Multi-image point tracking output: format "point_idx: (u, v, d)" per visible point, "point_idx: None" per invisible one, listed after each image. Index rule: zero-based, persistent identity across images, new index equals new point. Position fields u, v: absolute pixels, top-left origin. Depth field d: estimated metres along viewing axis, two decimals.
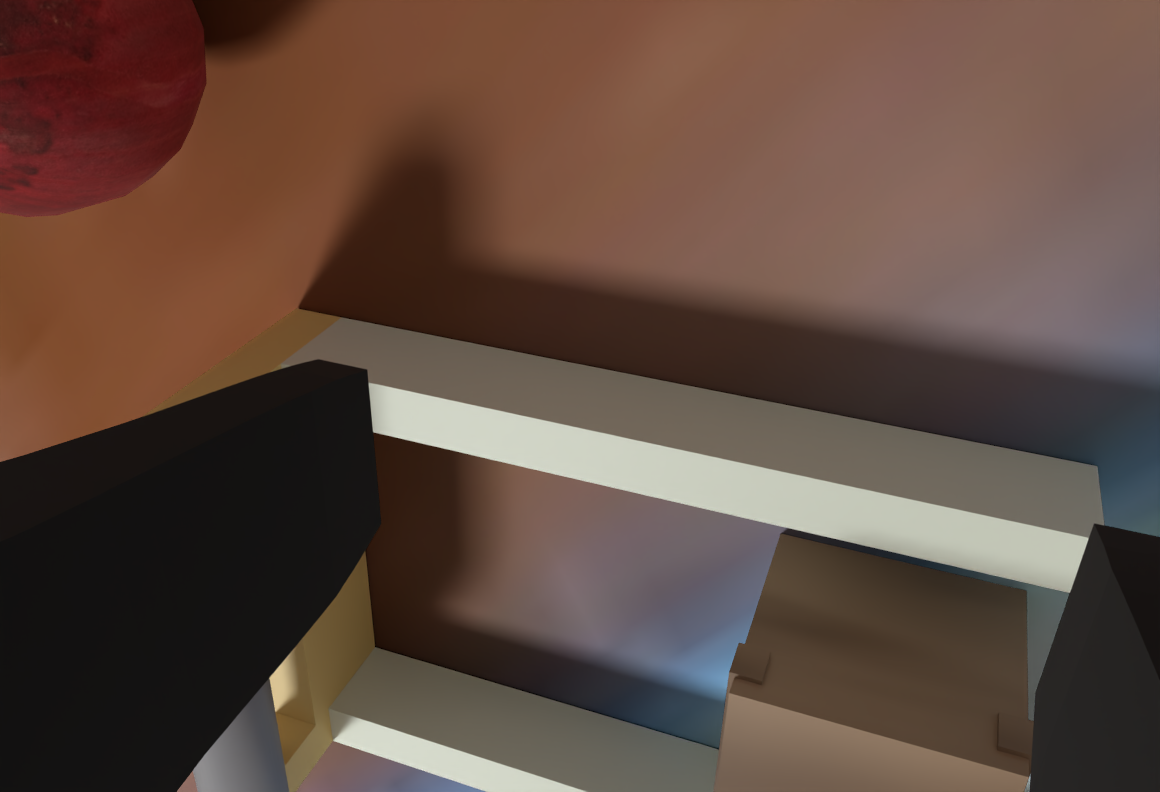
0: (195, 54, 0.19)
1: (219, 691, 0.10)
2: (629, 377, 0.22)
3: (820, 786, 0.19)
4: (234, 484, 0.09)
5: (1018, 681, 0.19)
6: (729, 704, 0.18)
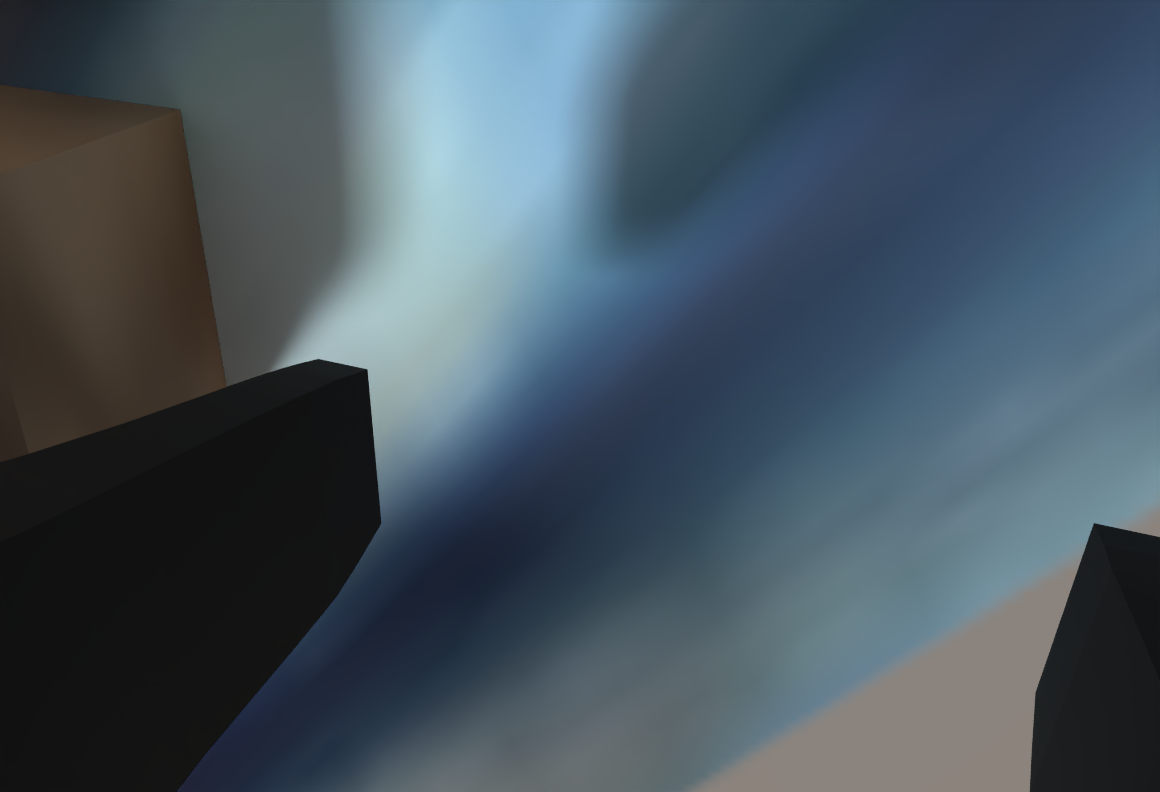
0: None
1: (219, 691, 0.10)
2: None
3: None
4: (234, 484, 0.09)
5: (10, 164, 0.12)
6: None
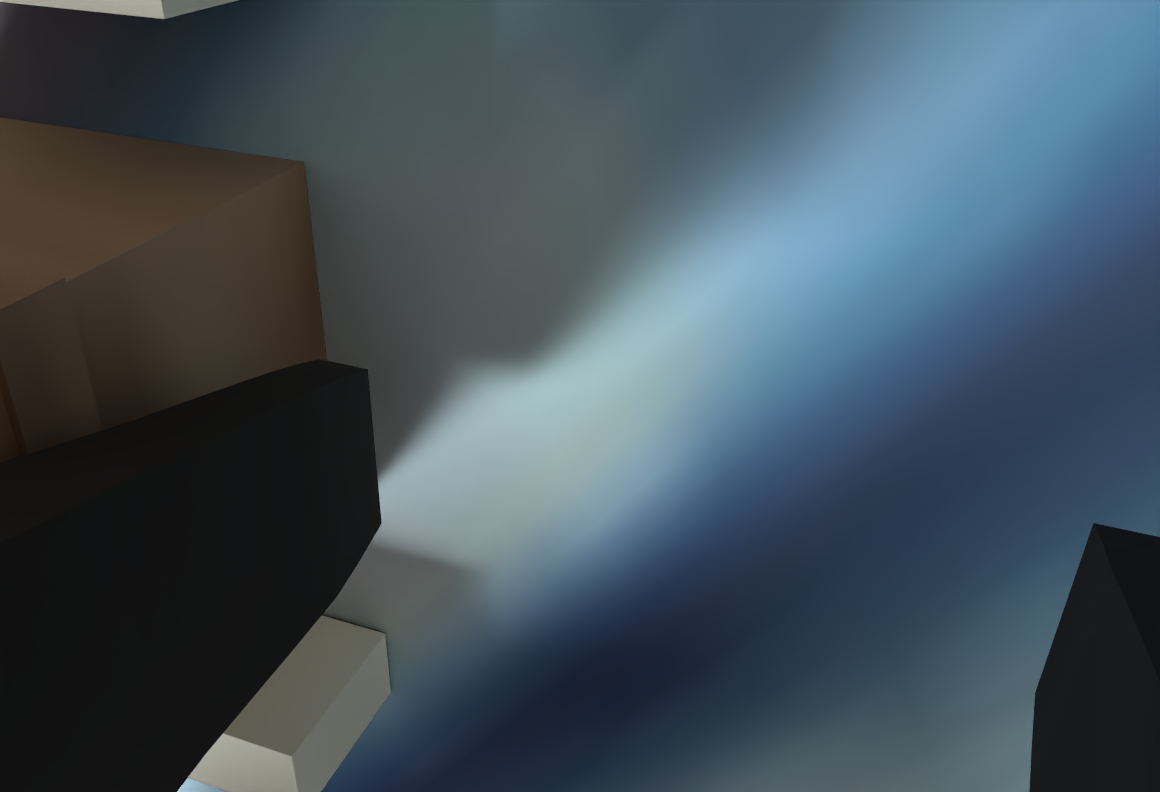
0: None
1: (219, 691, 0.10)
2: None
3: None
4: (234, 484, 0.09)
5: (125, 242, 0.10)
6: None
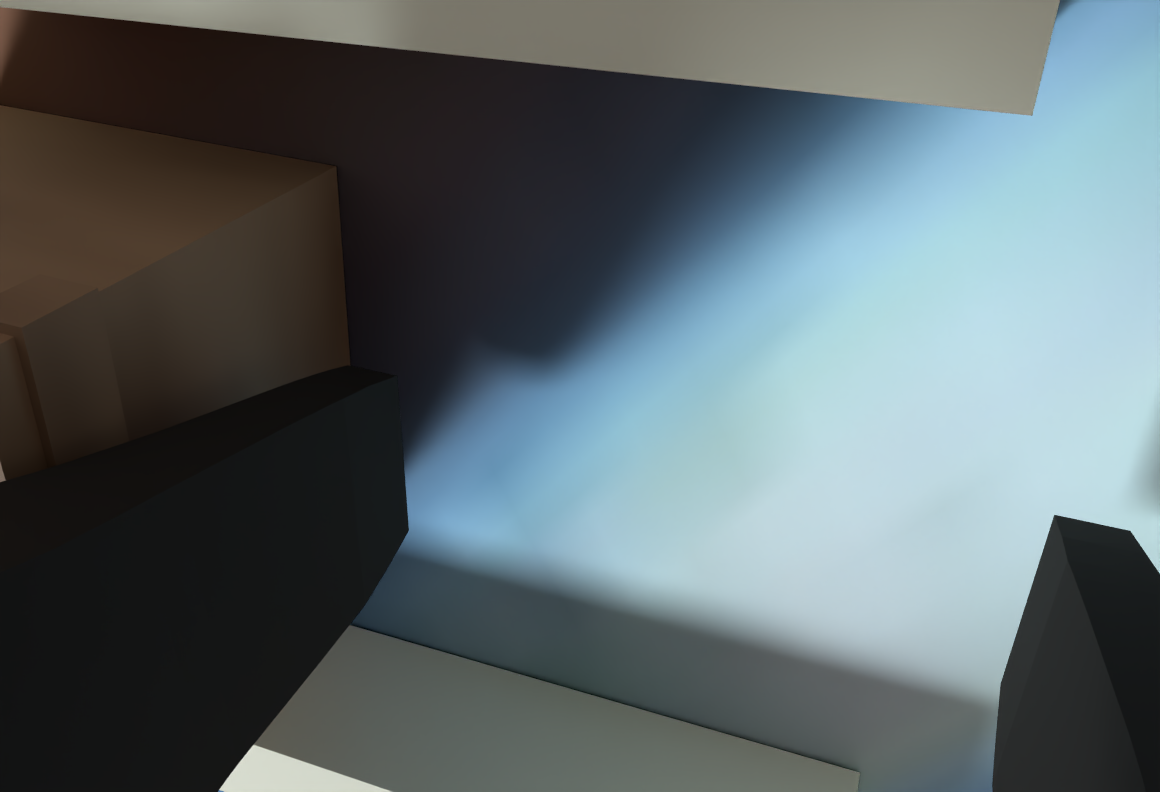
0: None
1: (251, 702, 0.10)
2: None
3: None
4: (268, 493, 0.09)
5: (156, 250, 0.09)
6: None
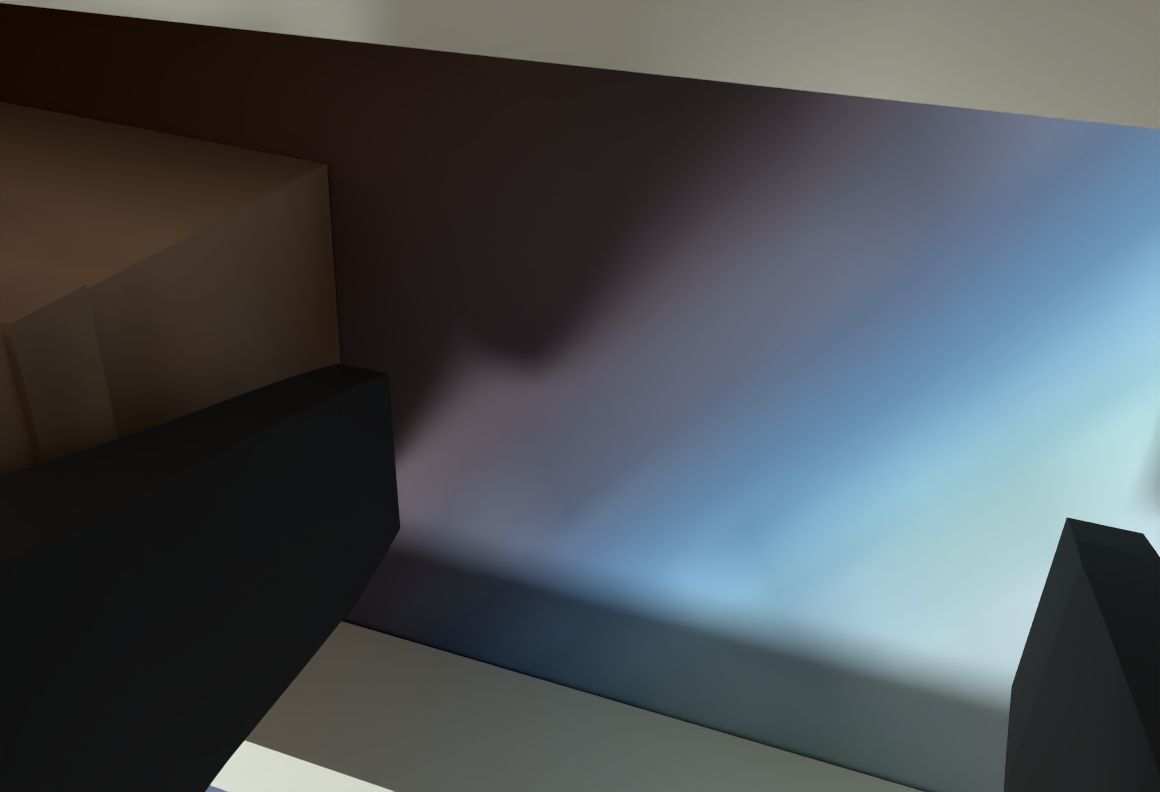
0: None
1: (241, 698, 0.10)
2: None
3: None
4: (257, 490, 0.09)
5: (145, 247, 0.09)
6: None
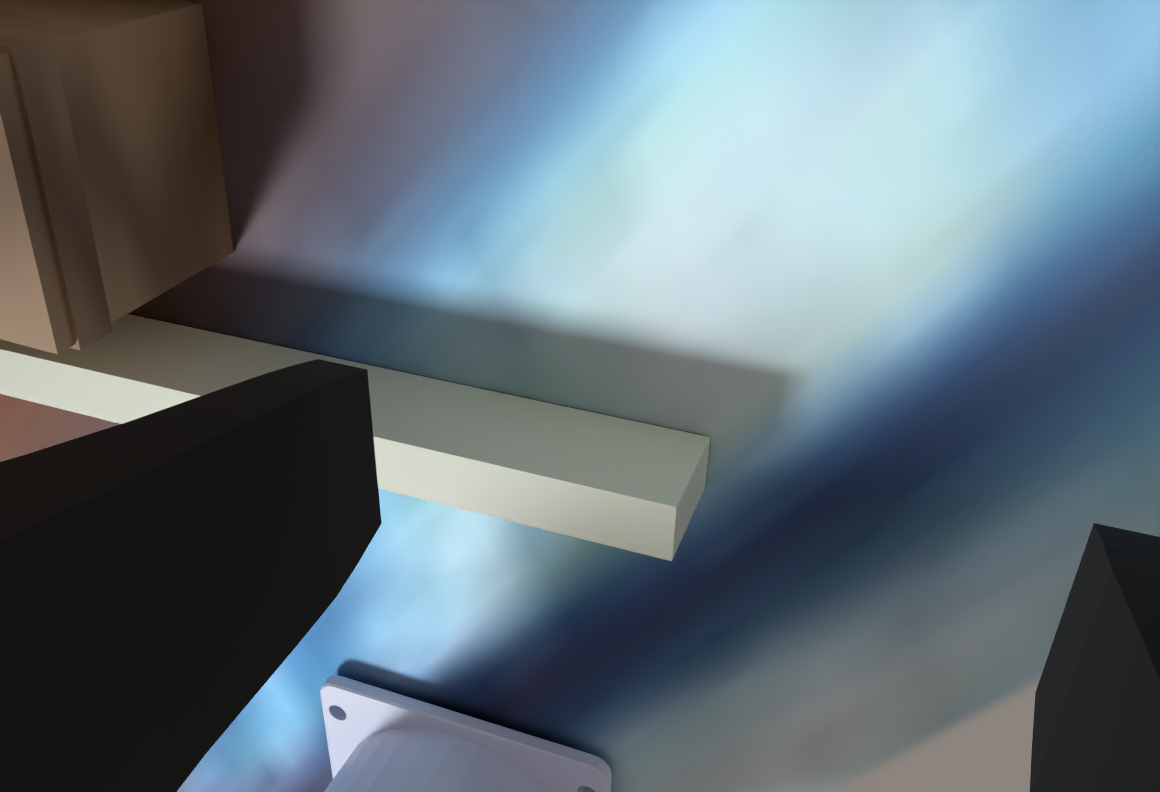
0: None
1: (219, 691, 0.10)
2: None
3: None
4: (234, 484, 0.09)
5: (87, 29, 0.17)
6: None
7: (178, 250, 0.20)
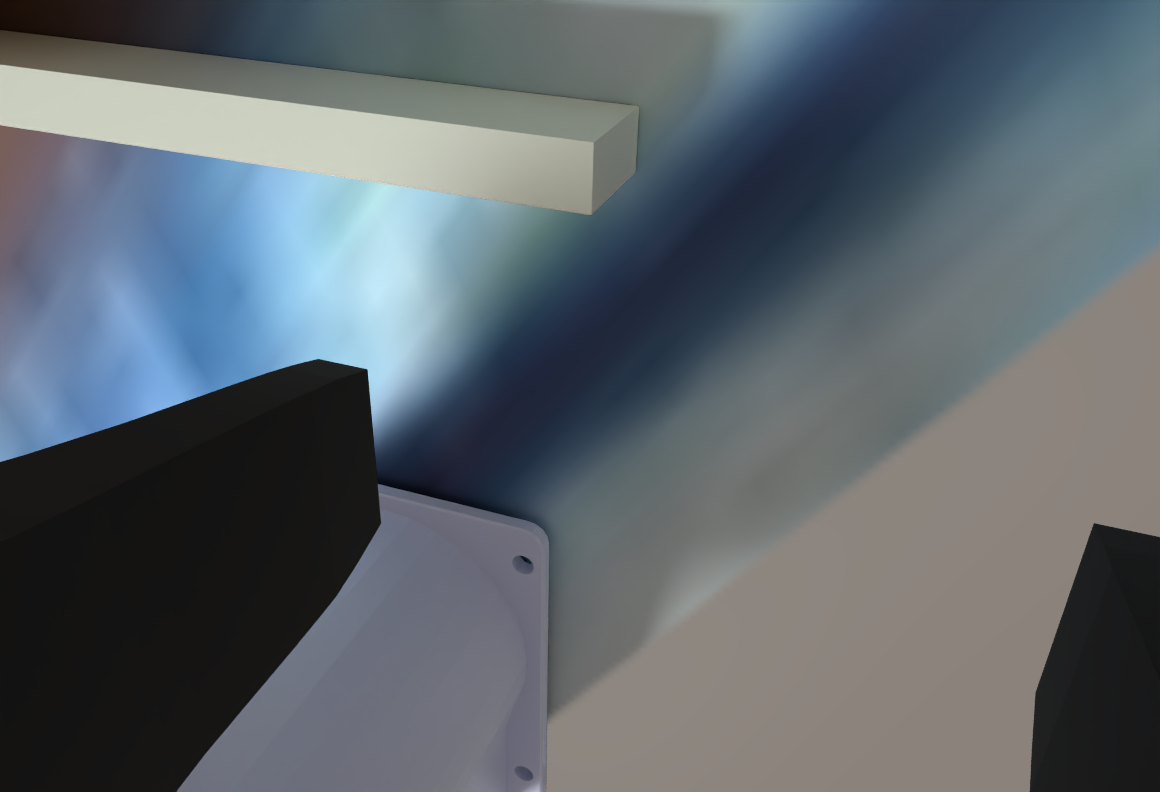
0: None
1: (219, 691, 0.10)
2: None
3: None
4: (234, 484, 0.09)
5: None
6: None
7: None
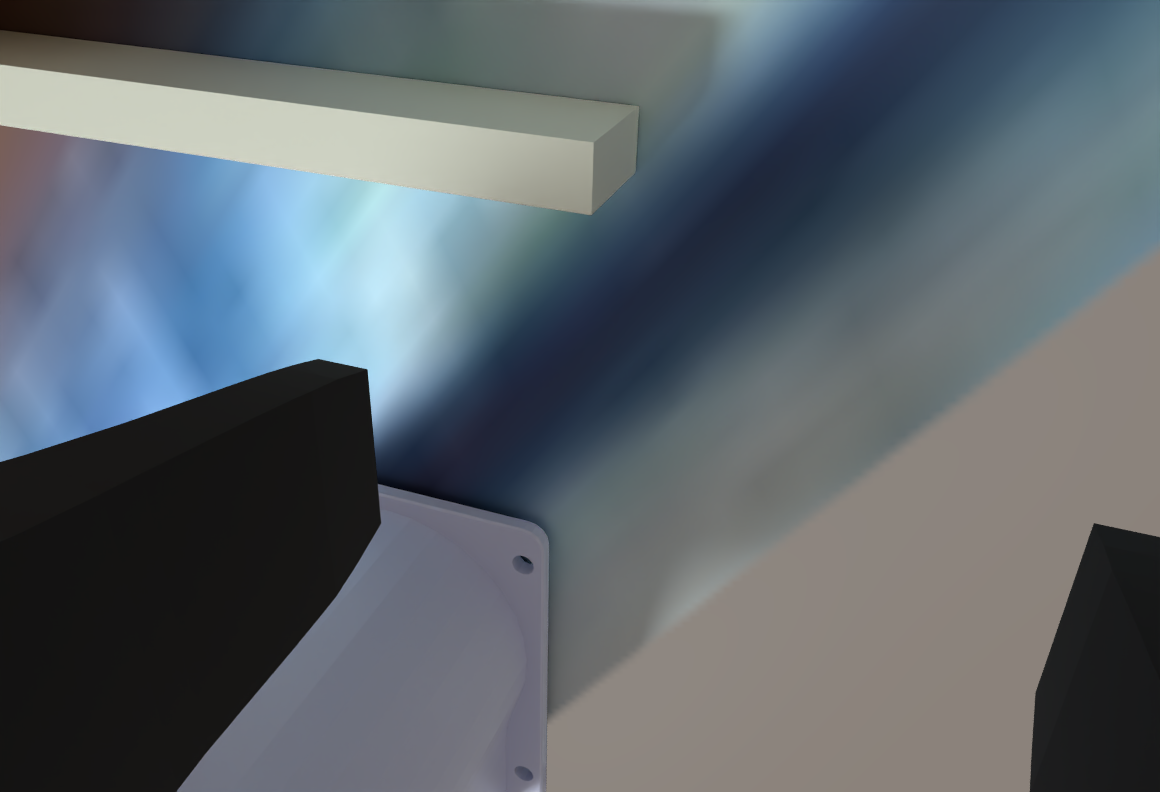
0: None
1: (219, 691, 0.10)
2: None
3: None
4: (234, 484, 0.09)
5: None
6: None
7: None
